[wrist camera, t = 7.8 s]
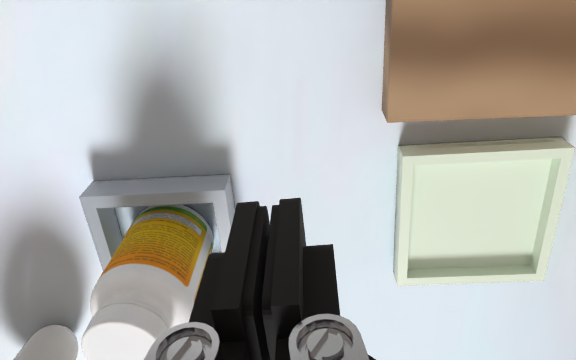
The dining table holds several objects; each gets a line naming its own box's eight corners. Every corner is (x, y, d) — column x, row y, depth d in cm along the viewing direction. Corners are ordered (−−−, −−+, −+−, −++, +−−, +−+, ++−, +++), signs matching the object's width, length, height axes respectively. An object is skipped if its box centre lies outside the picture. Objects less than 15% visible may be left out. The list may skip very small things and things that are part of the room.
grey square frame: (93, 181, 29) (79, 197, 27) (229, 174, 28) (224, 190, 26) (125, 288, 33) (115, 308, 31) (246, 284, 32) (242, 304, 30)
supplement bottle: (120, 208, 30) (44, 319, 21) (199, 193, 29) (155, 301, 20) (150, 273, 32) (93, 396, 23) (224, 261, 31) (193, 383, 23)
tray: (398, 145, 27) (402, 156, 26) (561, 137, 26) (574, 147, 25) (393, 271, 31) (397, 286, 30) (533, 266, 31) (544, 280, 29)
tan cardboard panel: (387, -72, 22) (396, -73, 20) (602, -86, 22) (636, -89, 19) (380, 107, 26) (387, 122, 24) (561, 99, 26) (585, 114, 24)
